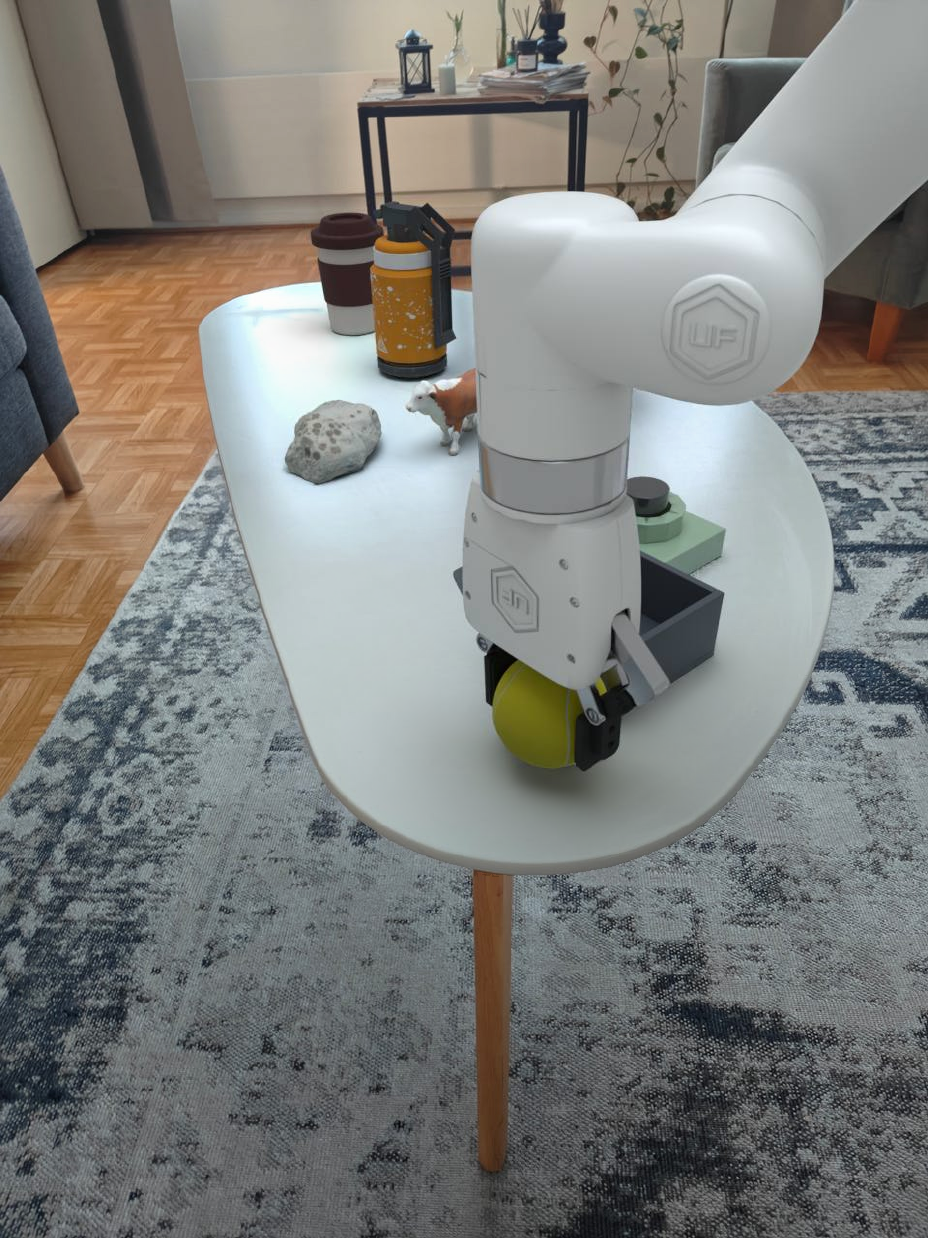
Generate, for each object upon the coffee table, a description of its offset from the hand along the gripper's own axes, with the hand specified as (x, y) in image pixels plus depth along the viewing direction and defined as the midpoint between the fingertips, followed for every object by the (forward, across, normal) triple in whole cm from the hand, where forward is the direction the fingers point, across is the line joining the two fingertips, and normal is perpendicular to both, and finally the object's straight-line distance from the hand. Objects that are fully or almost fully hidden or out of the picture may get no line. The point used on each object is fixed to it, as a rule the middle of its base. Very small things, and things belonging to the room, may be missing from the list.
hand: (550, 724), depth 56 cm
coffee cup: (+2, -82, +42) cm, 92 cm away
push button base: (+4, -14, +25) cm, 28 cm away
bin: (+4, -6, +12) cm, 13 cm away
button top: (-1, -14, +25) cm, 28 cm away
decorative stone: (+3, -48, +16) cm, 50 cm away
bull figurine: (+3, -42, +28) cm, 50 cm away
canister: (+3, -62, +38) cm, 72 cm away
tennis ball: (+2, 0, 0) cm, 2 cm away
